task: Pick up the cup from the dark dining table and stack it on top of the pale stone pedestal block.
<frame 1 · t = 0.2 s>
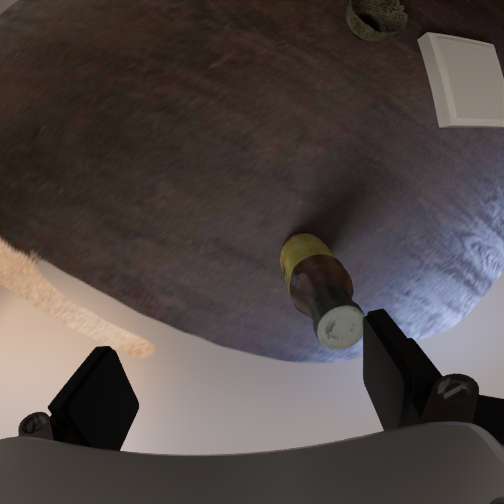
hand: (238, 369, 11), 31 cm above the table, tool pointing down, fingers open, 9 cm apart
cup: (361, 31, 33), on the table
sauce bottle: (303, 254, 42), on the table
pedestal: (463, 84, 34), on the table
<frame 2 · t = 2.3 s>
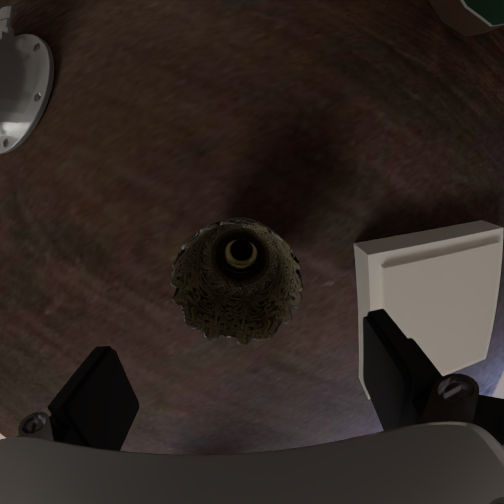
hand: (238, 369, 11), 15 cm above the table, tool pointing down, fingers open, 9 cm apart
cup: (241, 249, 25), on the table
beer bottle: (453, 7, 18), on the table
pedestal: (425, 302, 26), on the table
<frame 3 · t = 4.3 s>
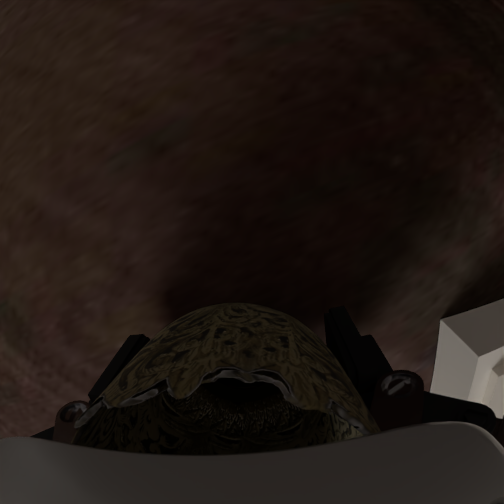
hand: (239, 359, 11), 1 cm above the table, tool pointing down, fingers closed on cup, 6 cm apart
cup: (244, 337, 13), on the table, touching gripper
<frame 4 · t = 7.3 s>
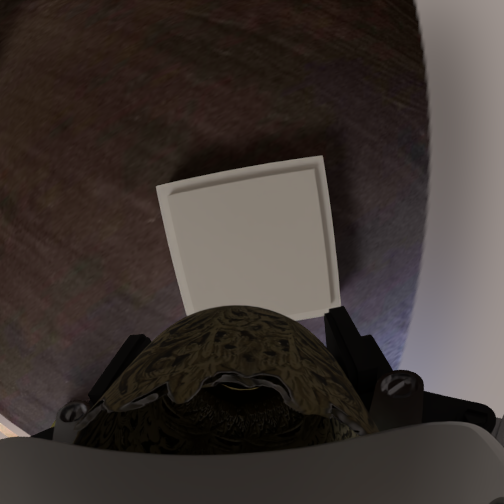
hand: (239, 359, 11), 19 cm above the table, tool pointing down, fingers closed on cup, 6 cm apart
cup: (244, 339, 13), point 17 cm above the table, touching gripper
pedestal: (253, 242, 30), on the table
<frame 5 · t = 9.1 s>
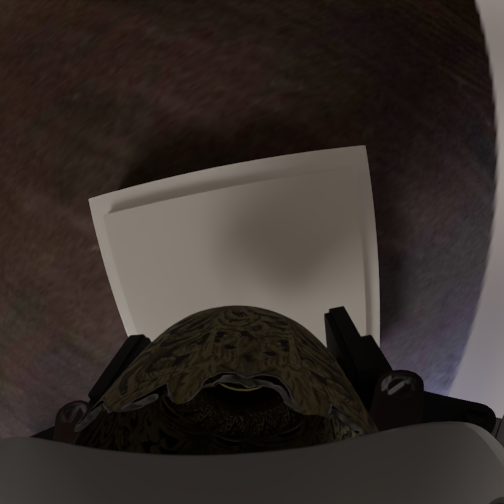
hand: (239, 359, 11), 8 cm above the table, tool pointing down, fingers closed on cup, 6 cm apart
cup: (244, 339, 13), point 6 cm above the table, touching gripper
pedestal: (247, 283, 19), on the table
when the fingers open (7 cm above the table, at t = 10.4 s): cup drops 1 cm, resting on pedestal.
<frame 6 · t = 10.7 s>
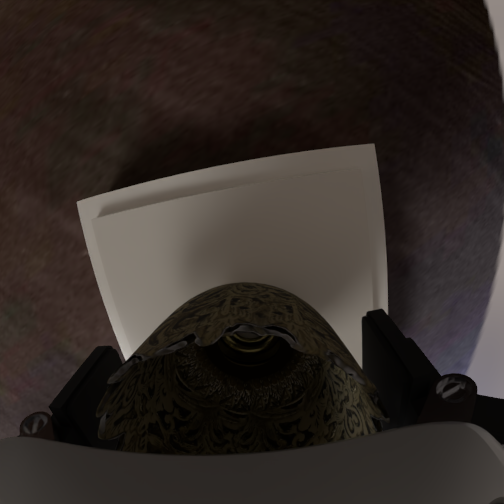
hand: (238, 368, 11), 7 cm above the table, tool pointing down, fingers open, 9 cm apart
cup: (250, 319, 14), point 4 cm above the table, touching pedestal
pedestal: (247, 291, 18), on the table
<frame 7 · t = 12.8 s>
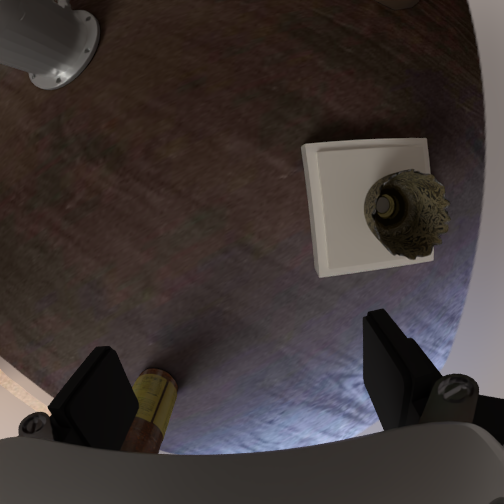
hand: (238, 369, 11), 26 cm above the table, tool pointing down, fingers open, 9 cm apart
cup: (381, 204, 30), point 4 cm above the table, touching pedestal
sauce bottle: (160, 382, 42), on the table
pedestal: (367, 202, 34), on the table
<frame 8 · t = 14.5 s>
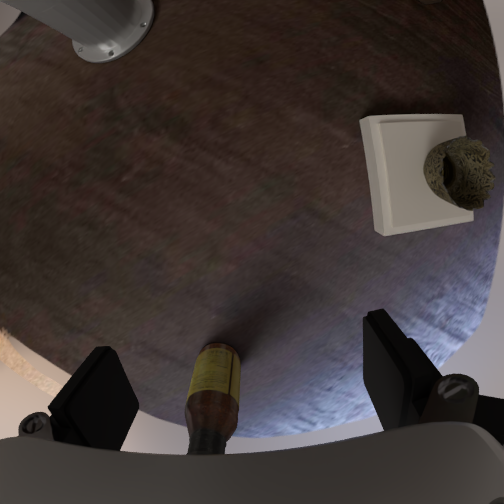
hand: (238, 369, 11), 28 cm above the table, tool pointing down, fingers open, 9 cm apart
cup: (432, 170, 32), point 4 cm above the table, touching pedestal
sauce bottle: (220, 358, 43), on the table
pedestal: (416, 170, 35), on the table
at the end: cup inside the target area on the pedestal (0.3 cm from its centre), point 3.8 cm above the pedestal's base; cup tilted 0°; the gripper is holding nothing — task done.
